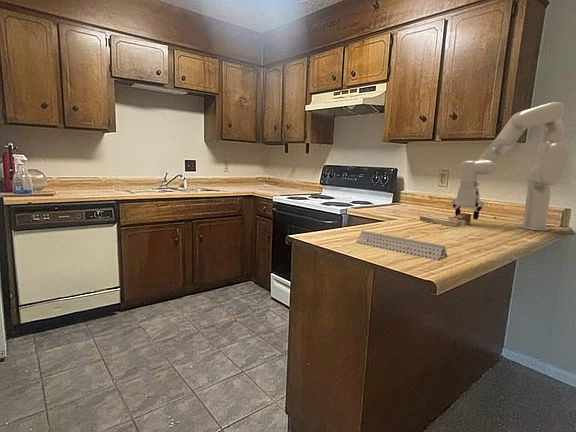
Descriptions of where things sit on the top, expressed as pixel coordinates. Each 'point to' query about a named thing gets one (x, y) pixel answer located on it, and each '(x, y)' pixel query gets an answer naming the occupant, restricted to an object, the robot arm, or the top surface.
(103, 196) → the top surface
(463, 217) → the gauge
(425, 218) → the board
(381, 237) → the corner bead
